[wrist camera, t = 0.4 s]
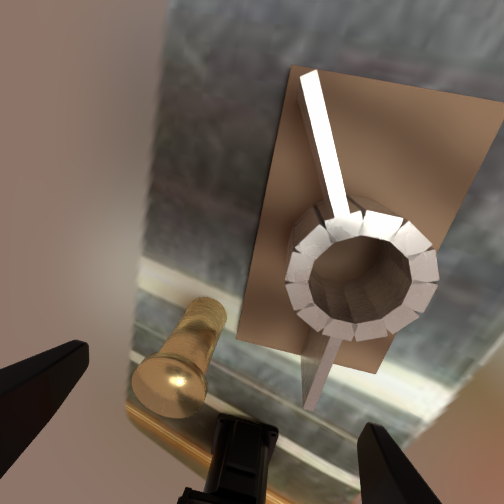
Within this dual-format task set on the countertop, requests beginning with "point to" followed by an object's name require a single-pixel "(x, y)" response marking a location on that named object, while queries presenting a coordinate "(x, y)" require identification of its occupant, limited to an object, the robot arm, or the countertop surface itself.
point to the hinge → (359, 289)
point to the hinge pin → (181, 363)
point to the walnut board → (362, 190)
